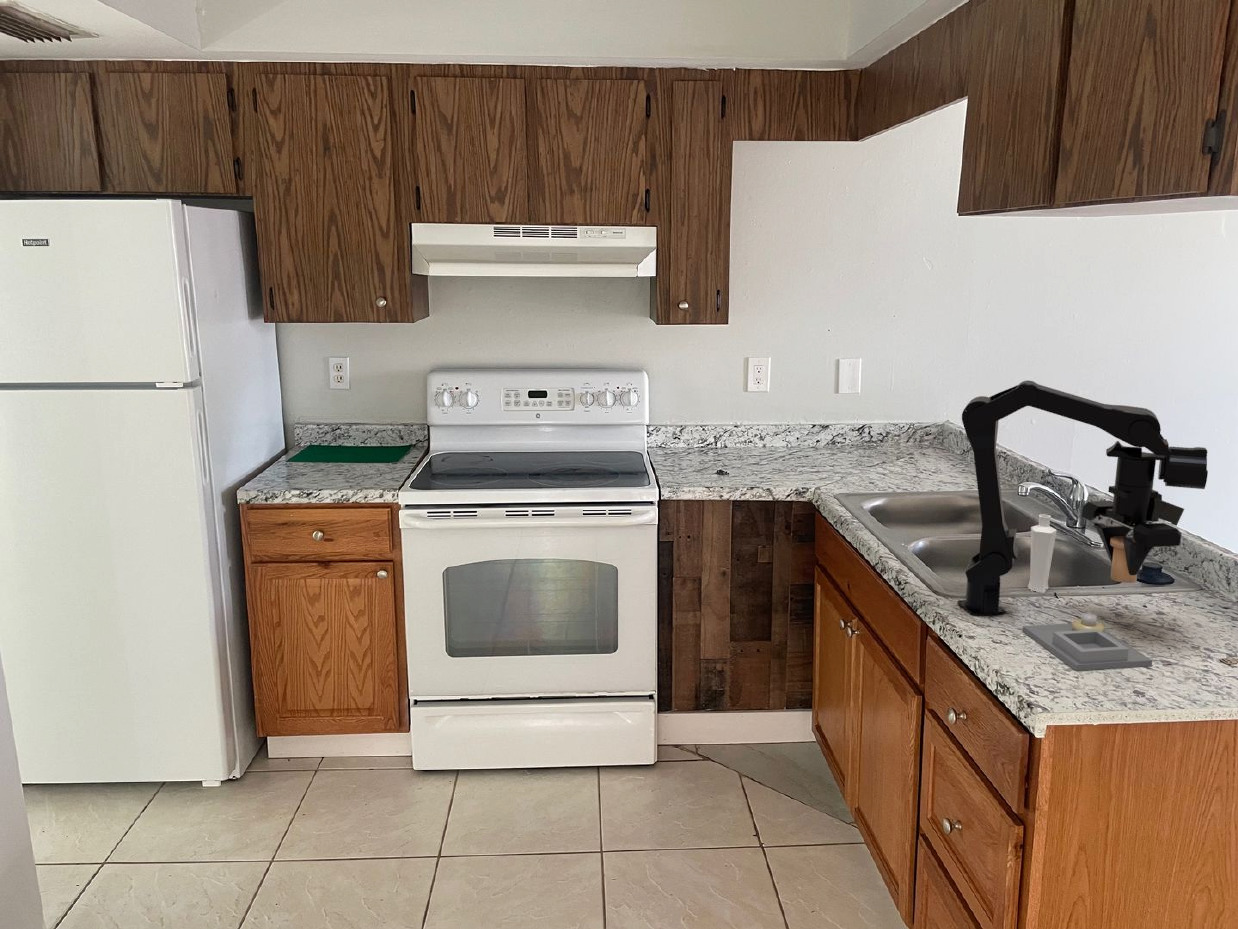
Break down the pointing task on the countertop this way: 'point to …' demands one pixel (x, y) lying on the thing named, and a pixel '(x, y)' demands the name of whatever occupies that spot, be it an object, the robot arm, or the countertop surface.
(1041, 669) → the countertop surface
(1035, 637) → the housing
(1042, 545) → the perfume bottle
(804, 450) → the countertop surface
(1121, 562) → the tan flared peg
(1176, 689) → the countertop surface
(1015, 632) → the countertop surface
